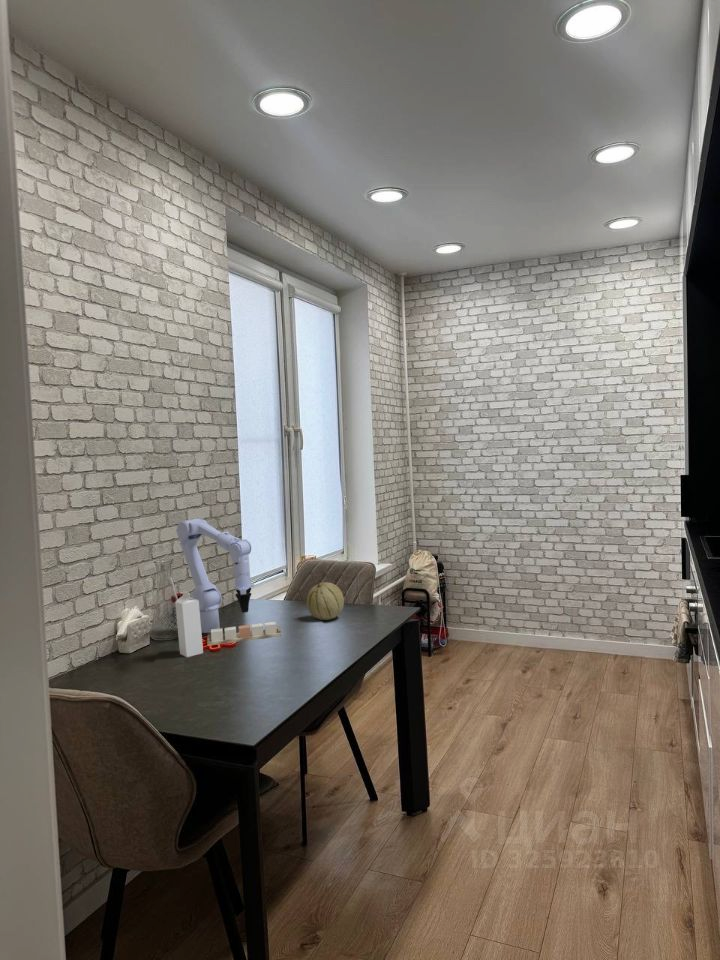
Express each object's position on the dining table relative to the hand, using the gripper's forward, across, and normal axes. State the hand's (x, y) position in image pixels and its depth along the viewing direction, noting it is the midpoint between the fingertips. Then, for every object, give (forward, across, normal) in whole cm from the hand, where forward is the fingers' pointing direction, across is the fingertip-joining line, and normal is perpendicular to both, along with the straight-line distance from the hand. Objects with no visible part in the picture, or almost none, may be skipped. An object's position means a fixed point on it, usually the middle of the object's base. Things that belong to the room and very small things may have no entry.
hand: (245, 609), depth 249 cm
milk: (+10, -17, +19) cm, 27 cm away
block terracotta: (+9, -5, +1) cm, 10 cm away
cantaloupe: (+10, +11, -31) cm, 34 cm away
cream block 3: (+9, -5, -4) cm, 11 cm away
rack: (+10, -5, +1) cm, 11 cm away
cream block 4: (+9, -5, -9) cm, 13 cm away
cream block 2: (+9, -5, +6) cm, 12 cm away
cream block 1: (+9, -5, +10) cm, 15 cm away
